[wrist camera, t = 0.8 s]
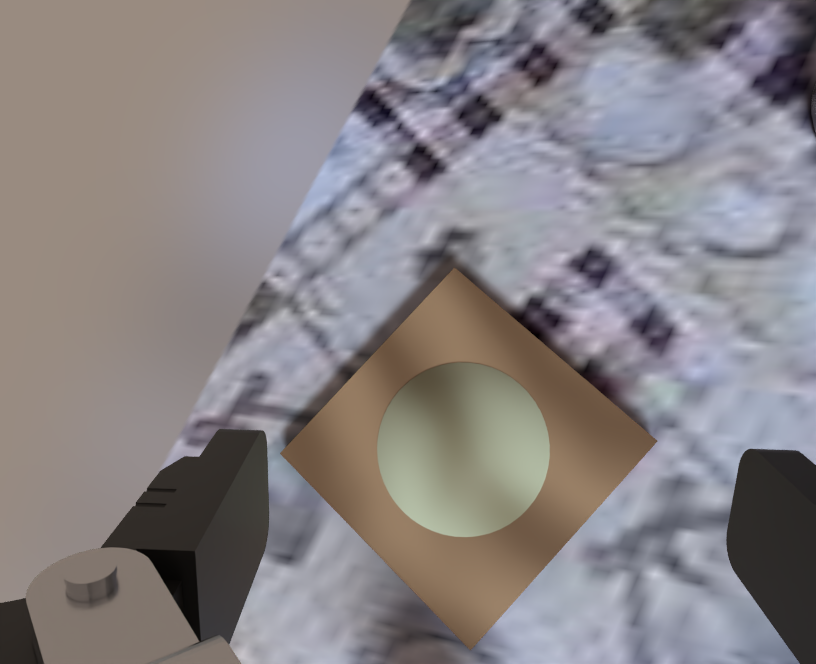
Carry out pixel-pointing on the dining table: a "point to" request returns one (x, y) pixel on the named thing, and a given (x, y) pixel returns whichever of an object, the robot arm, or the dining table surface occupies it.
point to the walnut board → (466, 454)
